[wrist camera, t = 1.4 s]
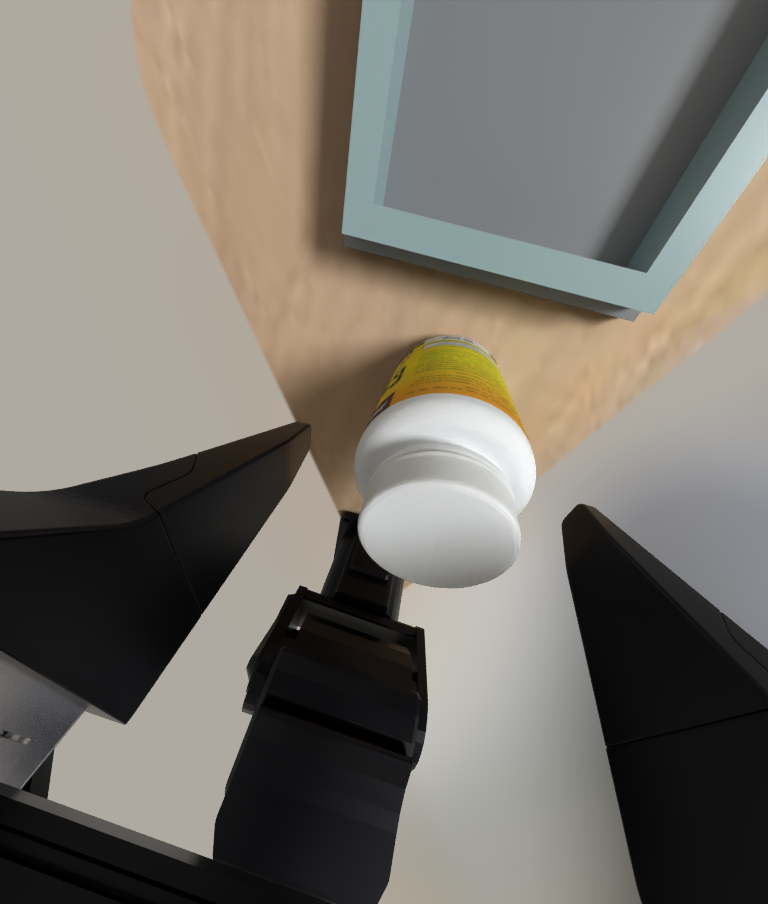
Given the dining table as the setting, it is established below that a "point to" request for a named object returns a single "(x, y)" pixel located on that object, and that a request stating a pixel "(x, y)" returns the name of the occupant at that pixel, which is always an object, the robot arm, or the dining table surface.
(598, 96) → the tray
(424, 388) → the supplement bottle
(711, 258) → the dining table surface
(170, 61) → the dining table surface
